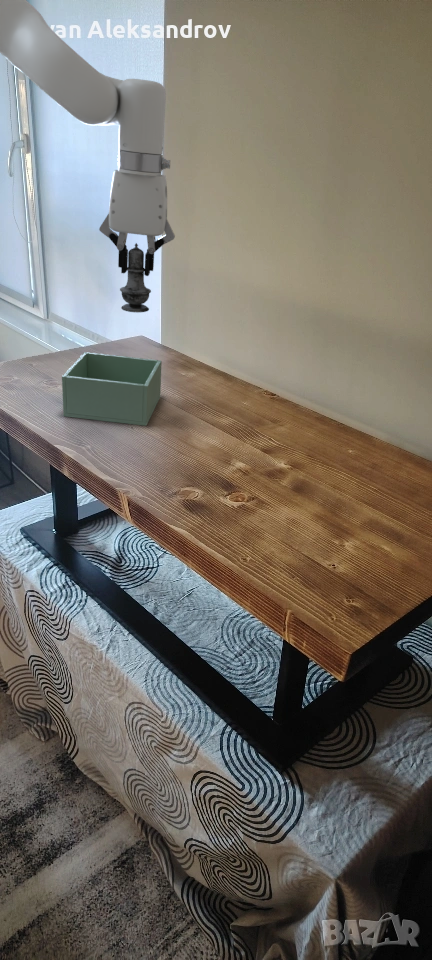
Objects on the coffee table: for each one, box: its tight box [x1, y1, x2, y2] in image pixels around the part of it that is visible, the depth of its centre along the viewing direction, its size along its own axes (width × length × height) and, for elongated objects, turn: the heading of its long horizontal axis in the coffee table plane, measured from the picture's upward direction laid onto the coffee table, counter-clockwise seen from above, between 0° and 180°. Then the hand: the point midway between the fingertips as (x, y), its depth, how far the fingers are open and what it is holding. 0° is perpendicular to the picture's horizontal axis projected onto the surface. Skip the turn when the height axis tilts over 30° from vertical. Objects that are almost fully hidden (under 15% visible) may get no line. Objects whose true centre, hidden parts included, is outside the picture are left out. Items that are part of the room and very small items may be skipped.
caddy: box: [61, 351, 163, 427], centre depth 101 cm, size 13×12×7 cm
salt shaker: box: [119, 242, 152, 314], centre depth 117 cm, size 6×6×12 cm
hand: (135, 272), depth 117 cm, fingers closed on salt shaker, 3 cm apart
